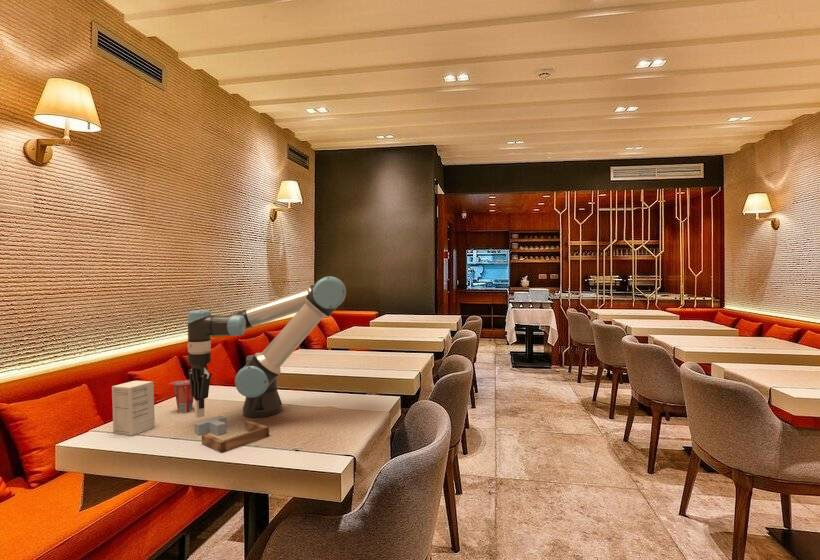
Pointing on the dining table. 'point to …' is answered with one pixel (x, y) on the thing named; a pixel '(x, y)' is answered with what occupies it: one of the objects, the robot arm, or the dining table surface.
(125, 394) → the supplement box
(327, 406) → the dining table surface
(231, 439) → the dock
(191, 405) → the cup
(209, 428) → the t block
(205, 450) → the dining table surface
